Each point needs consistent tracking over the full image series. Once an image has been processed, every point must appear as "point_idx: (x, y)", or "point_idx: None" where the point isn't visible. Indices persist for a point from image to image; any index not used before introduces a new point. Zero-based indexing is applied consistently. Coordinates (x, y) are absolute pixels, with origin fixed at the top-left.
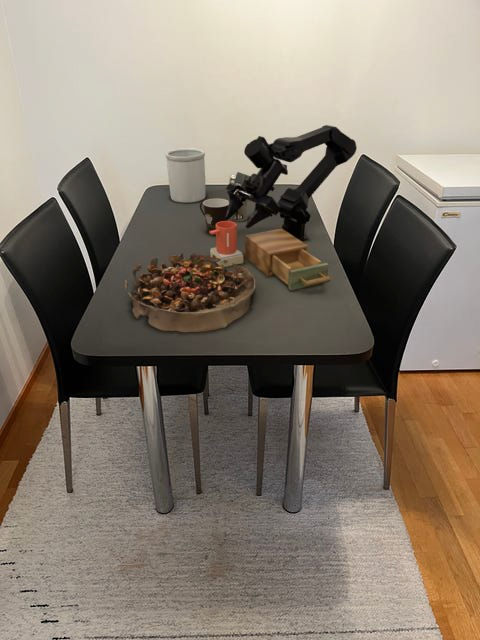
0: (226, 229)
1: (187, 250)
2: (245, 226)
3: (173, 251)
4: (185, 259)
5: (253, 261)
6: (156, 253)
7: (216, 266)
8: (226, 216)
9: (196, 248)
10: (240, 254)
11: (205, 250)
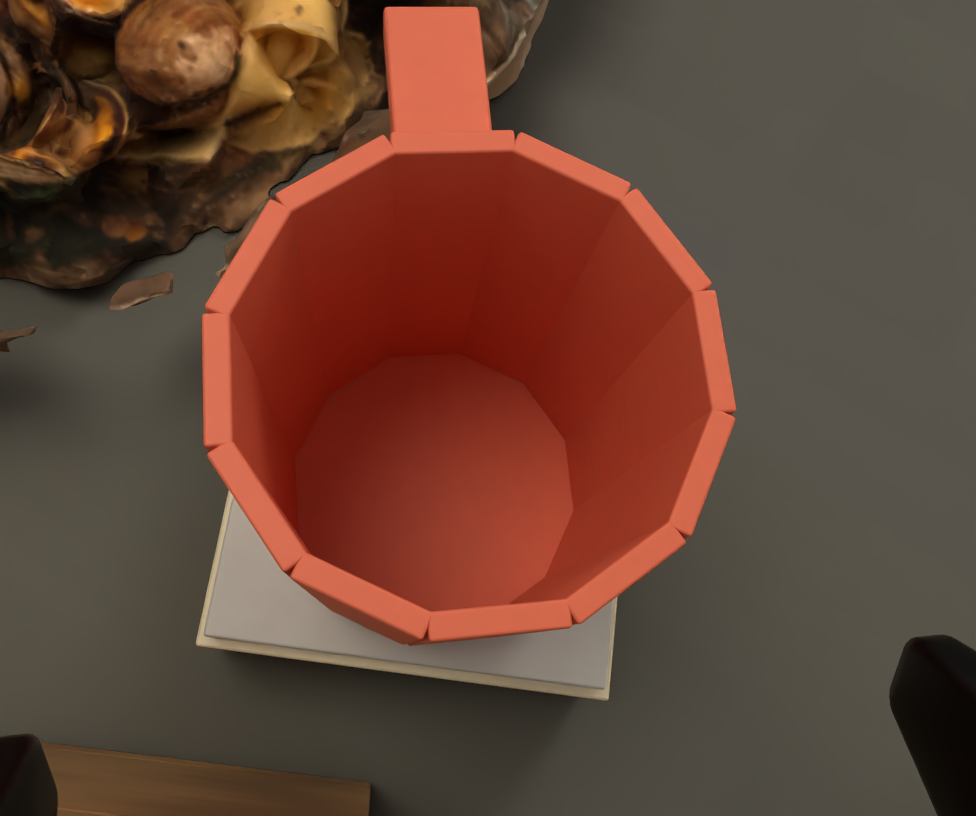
0: (255, 243)
1: (907, 286)
2: (26, 735)
3: (945, 159)
4: (539, 1)
5: (86, 754)
6: (969, 13)
7: (58, 92)
8: (936, 653)
9: (916, 396)
10: (209, 600)
11: (816, 453)
